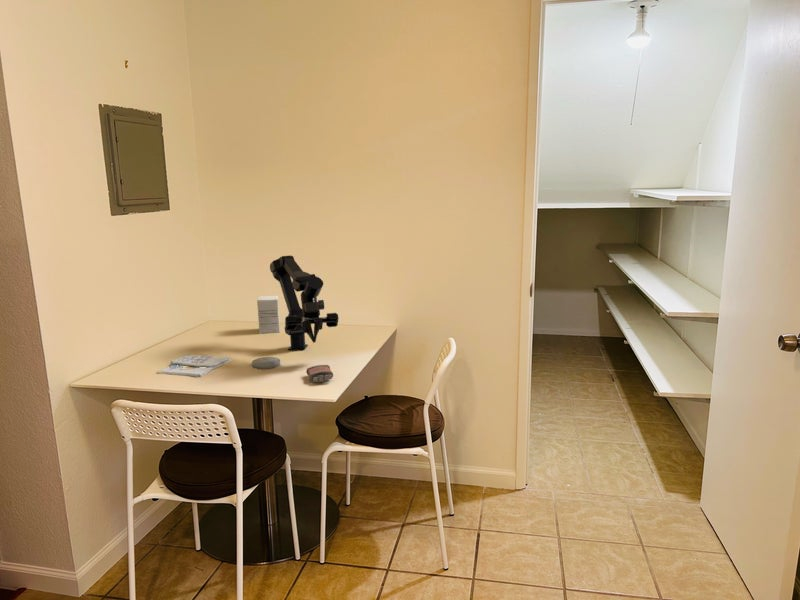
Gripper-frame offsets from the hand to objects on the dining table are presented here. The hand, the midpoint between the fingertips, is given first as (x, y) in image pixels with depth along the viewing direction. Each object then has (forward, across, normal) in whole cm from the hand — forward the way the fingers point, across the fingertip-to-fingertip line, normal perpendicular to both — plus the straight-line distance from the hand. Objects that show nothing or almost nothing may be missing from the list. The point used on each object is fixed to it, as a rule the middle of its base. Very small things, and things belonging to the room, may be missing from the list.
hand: (314, 341), depth 211 cm
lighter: (+11, 0, -1) cm, 11 cm away
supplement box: (-34, -14, +49) cm, 61 cm away
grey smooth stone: (+1, -17, +12) cm, 21 cm away
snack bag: (-3, -42, +17) cm, 46 cm away
